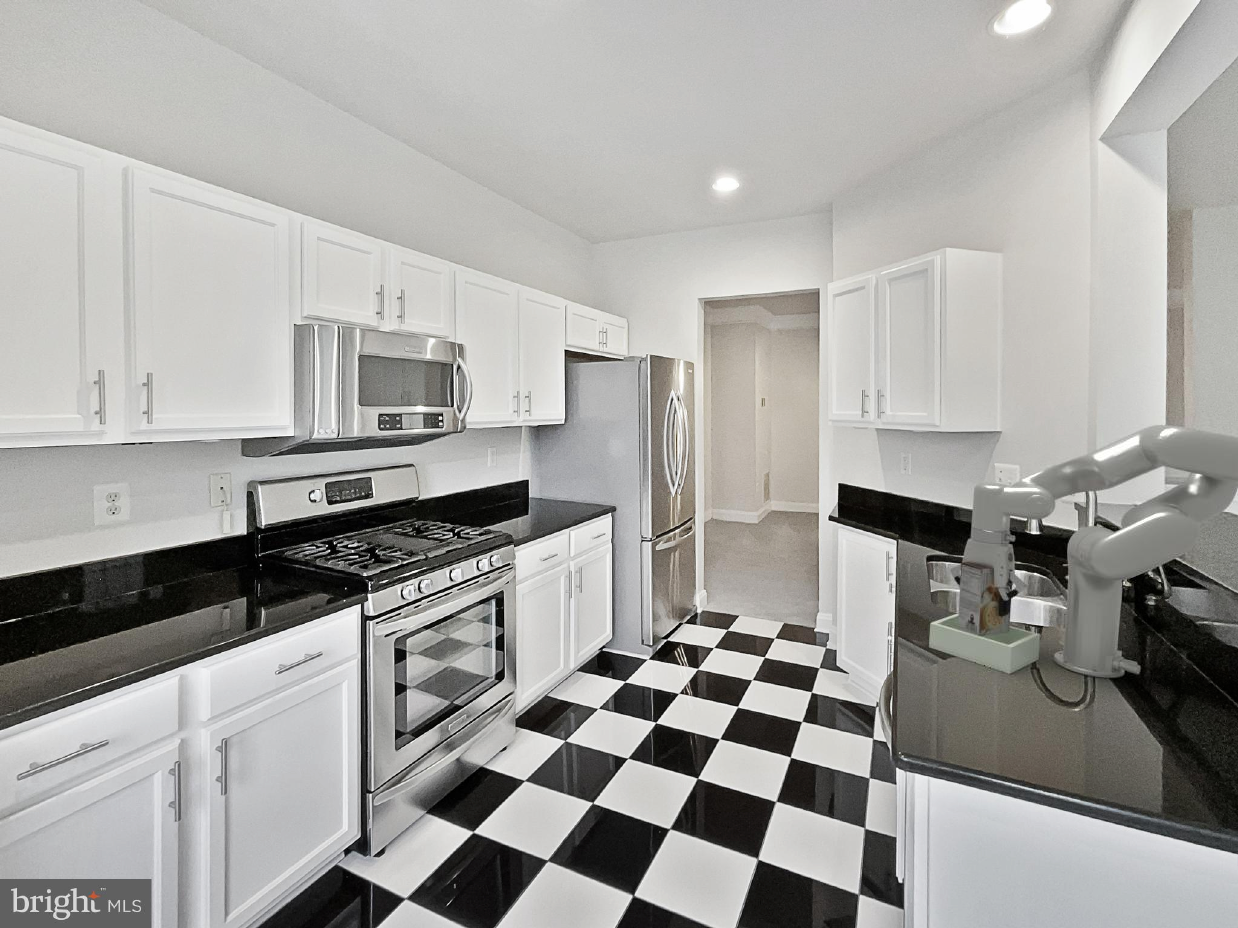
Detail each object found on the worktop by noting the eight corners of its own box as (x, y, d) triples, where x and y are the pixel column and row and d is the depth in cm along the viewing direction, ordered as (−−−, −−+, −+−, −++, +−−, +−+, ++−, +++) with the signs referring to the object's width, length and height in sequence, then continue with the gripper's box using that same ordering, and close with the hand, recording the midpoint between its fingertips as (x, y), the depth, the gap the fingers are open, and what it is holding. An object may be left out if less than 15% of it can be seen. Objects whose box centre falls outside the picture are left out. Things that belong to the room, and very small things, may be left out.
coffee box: (986, 623, 150) (991, 559, 149) (1010, 633, 144) (1015, 565, 143) (956, 627, 148) (960, 561, 146) (978, 637, 142) (983, 568, 140)
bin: (1038, 659, 143) (1040, 634, 142) (1009, 673, 135) (1011, 647, 135) (959, 635, 158) (960, 612, 157) (929, 647, 150) (930, 623, 149)
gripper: (1038, 541, 139) (1032, 618, 140) (959, 528, 153) (955, 597, 155) (1023, 545, 135) (1017, 624, 136) (943, 531, 149) (939, 602, 151)
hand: (984, 609), depth 146 cm, fingers closed on coffee box, 7 cm apart
